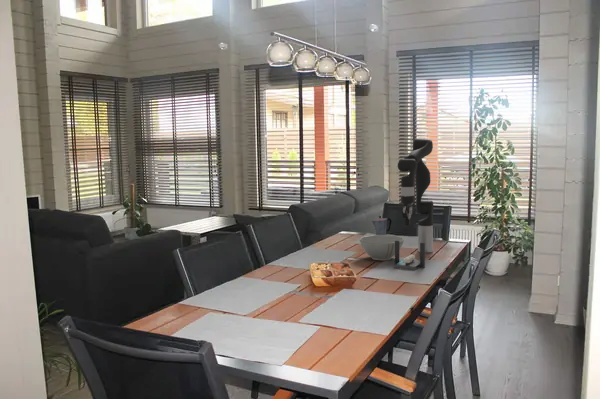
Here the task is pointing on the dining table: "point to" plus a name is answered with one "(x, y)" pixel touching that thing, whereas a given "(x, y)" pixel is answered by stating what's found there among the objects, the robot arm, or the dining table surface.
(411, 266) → the panel
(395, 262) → the dark gray rounded rod
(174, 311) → the dining table surface
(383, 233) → the moka pot
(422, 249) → the cord post
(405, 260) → the paddles
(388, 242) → the decorative bowl
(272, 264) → the dining table surface
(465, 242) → the dining table surface
